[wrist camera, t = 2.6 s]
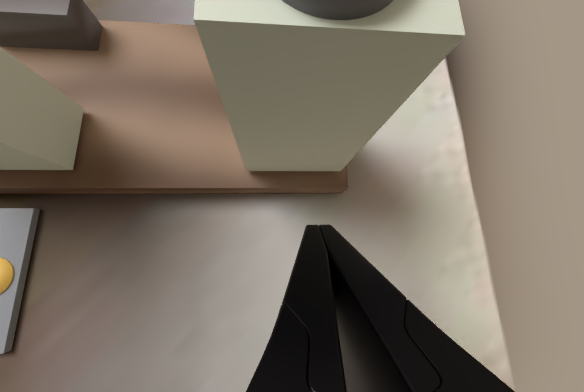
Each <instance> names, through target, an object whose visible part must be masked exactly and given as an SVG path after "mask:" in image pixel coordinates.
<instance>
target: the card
mask: <svg viewBox="0 0 584 392" xmlns="http://www.w3.org/2000/svg"><path fill="white" fill-rule="evenodd" d="M39 212H40V209H36V208H0V354H4V353H6V352H9V351H11V350H12V345H13V340H14V335H15V330H16V325H17V320H18V315H19V310H20V305H21V301H22V296H23V291H24V286H25V281H26V276H27V271H28V266H29V261H30V256H31V251H32V246H33V241H34V236H35V232H36V227H37V222H38V217H39Z"/></svg>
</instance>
